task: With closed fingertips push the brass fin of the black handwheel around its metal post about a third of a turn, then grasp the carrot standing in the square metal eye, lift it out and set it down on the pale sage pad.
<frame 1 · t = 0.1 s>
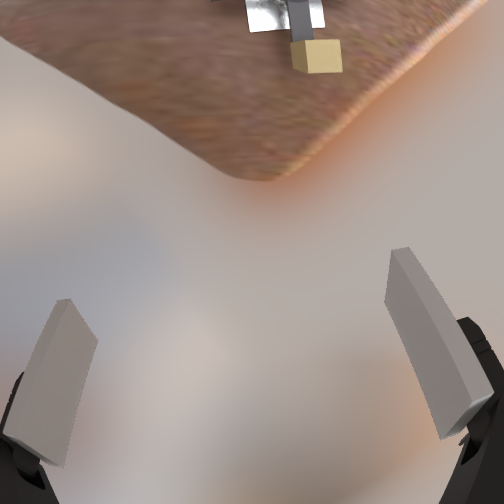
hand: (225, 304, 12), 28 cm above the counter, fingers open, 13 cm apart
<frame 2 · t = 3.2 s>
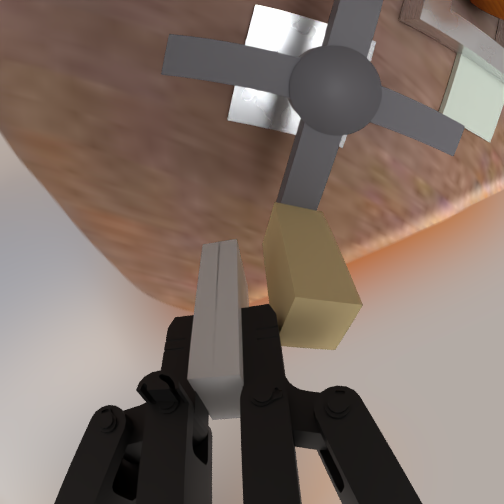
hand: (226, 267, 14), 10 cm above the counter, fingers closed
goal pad: (474, 95, 19), on the counter
handwheel: (357, 99, 10), point 11 cm above the counter, hinge at 0.0°, touching gripper
wheel post: (301, 75, 19), on the counter
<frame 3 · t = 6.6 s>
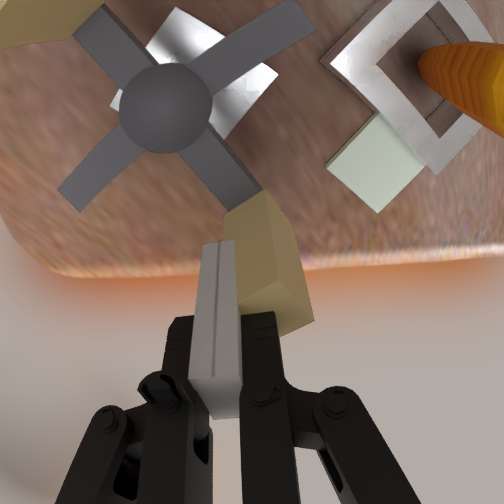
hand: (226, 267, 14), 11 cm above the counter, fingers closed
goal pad: (377, 161, 23), on the counter
handwheel: (148, 123, 10), point 11 cm above the counter, hinge at 73.3°, touching gripper
carrot: (419, 64, 18), on the counter
eye socket: (420, 64, 18), on the counter
wheel post: (191, 85, 19), on the counter
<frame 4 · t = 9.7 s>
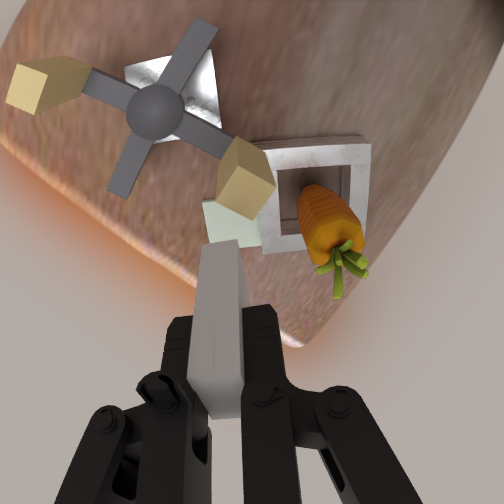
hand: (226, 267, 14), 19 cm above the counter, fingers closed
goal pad: (234, 221, 35), on the counter
handwheel: (145, 119, 18), point 11 cm above the counter, hinge at 142.4°
carrot: (308, 187, 33), on the counter
eye socket: (308, 188, 33), on the counter
wheel post: (173, 97, 27), on the counter
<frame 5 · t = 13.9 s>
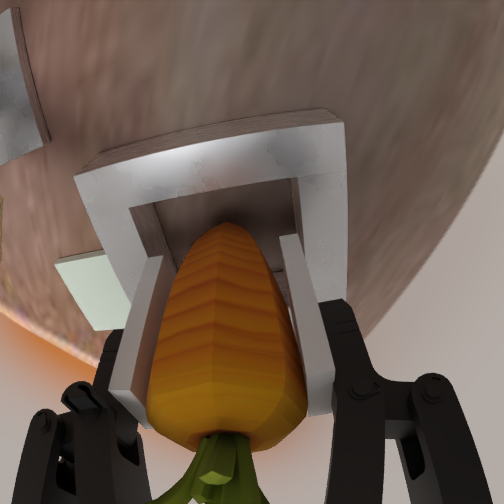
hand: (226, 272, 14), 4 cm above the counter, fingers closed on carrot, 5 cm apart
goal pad: (114, 289, 19), on the counter
carrot: (227, 225, 17), on the counter, touching gripper
eye socket: (228, 227, 17), on the counter
when the fingers open (6 cm above the counter, at t = 18.8 s): carrot drops 1 cm, resting on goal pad.
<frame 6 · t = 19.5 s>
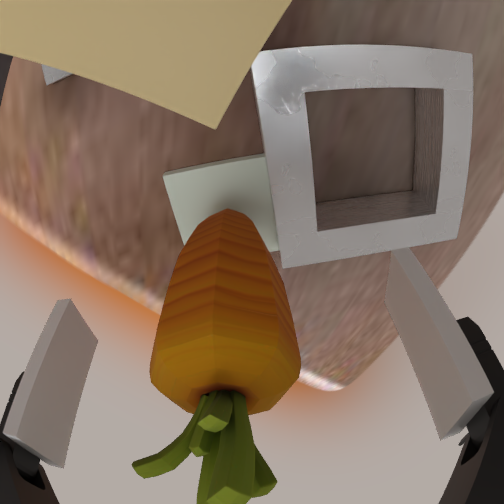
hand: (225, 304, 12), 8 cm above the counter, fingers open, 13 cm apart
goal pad: (228, 209, 19), on the counter
carrot: (229, 212, 18), resting on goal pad
eye socket: (361, 141, 16), on the counter
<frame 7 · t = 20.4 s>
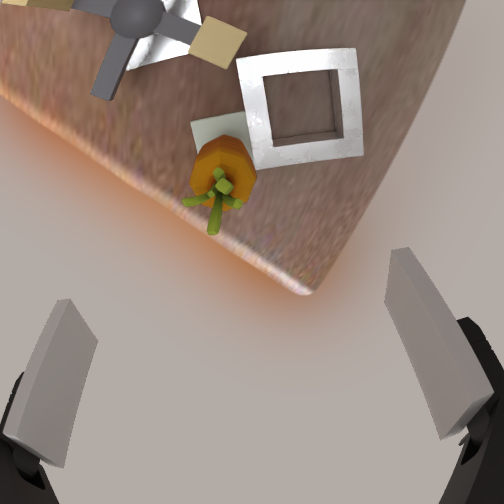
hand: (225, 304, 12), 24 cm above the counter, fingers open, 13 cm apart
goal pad: (225, 142, 32), on the counter
handwheel: (125, 10, 15), point 11 cm above the counter, hinge at 142.4°
carrot: (226, 143, 32), resting on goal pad
eye socket: (299, 102, 30), on the counter
wheel post: (159, 23, 24), on the counter
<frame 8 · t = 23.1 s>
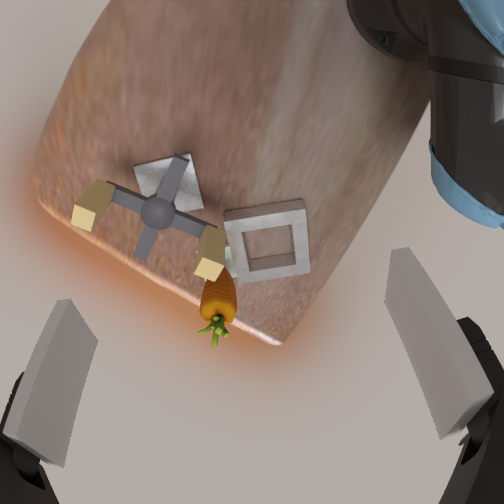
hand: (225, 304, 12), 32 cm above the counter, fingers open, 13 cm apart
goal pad: (219, 261, 51), on the counter
handwheel: (152, 225, 34), point 11 cm above the counter, hinge at 142.4°
carrot: (219, 263, 50), resting on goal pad
eye socket: (268, 237, 48), on the counter
wheel post: (169, 185, 43), on the counter
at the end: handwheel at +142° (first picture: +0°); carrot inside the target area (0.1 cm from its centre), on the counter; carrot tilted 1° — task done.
